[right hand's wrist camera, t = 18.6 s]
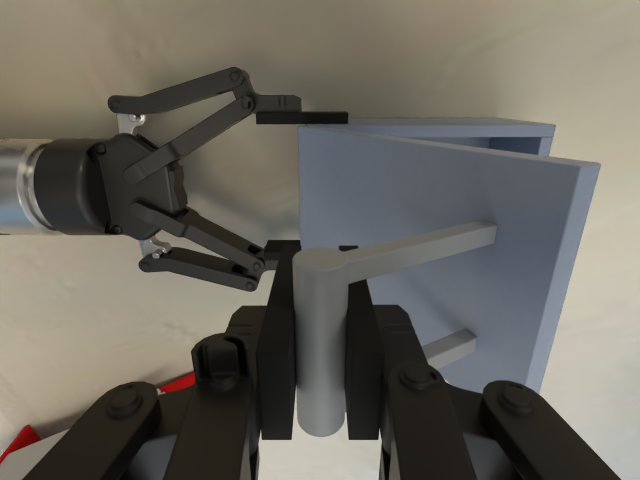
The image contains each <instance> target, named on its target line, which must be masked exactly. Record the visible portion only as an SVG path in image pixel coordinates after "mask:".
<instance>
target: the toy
mask: <svg viewBox="0 0 640 480" xmlns="http://www.w3.org/2000/svg"><path fill="white" fill-rule="evenodd" d="M193 384H195V374H194V372H193V373H191V374H188V375H186V376H184V377H182V378H180V379H178V380H175V381H173V382H171V383H169V384H167V385H164V386H162V387H160V388H157V391H158V395H160V394H164V393H169V392H173V391H177V390H180V389H184V388H187V387H189V386H191V385H193ZM69 429H70V428H69ZM69 429H67V430H65V431H62V432H60V433H57V434H55V435H53V436H50V437H48V438H45V439H43V440H41V439H40V437H39V436H38V435H37V434H36V433H35V432H34V431H33V430H32V428H31V427H30V426H29V425H28V426H26V427H24V428H23V430H22V431H21V432H20V433H19V435H18V436H17V437H16V438H15V440H14V441H13V442H12V443H11V445H10V446H9V447H8V448H7V450H6V451H5V452H4V453H3V454H2V456H1V457H0V480H22V479H23V478H24V477H25V476H26V475H27V473H28V472H29V471H30V470H31V469H32V468H33V467H34V466H35V465H36V464H37V463H38V462H39V461H40V460H41V459H42V458H43V457H44V456H45V455H46V453H47V452H48V451H49V450H50V449H51V448H52V447H53V446H54V445H55V444H56V443H57V442H58V441H59V440H60V439H61V438H62V437H63V436H64V435H65V433H66V432H67V431H68V430H69Z"/></svg>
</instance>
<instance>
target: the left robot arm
mask: <svg viewBox="0 0 640 480" xmlns="http://www.w3.org/2000/svg"><path fill="white" fill-rule="evenodd" d="M232 90H233V93H234V95H235V97H236V100H235V101H233V102H232V103H230V104H229V105H227V106H226V107H224V108H223V109H221V110H219V111H218V112H216V113H215V114H213V115H212V116H210V117H208V118H207V119H205V120H204V121H202V122H201V123H199V124H198V125H196V126H194V127H193V128H191V129H190V130H188V131H187V132H185V133H184V134H182V135H180V136H179V137H177V138H176V139H174V140H173V141H171V142H169V143H167V144H165V145H163V146H162V147H160V148H159V147H158V146H156V145H155V144H153V143H152V142H150V141H149V140H147V139H146V138H144V137H143V136H141V135H140V134H138V129H139V127H140V126H142V125H145V124H148V123H149V122H150V114H155V113H162V112H166V111H169V110H172V109H176V108H179V107H182V106H185V105H188V104H191V103H195V102H198V101H201V100H204V99H207V98H210V97H213V96H217V95H220V94H223V93H226V92H229V91H232ZM108 106H109V108H110V110H111V111H112V112H114V113H117V121H118V130H119V134H117V135H115V136H114V137H112V138H110V139H58V140H51V139H0V235H62V234H67V235H127V236H130V237H132V238H134V239H137V240H139V243H140V247H141V251H142V254H143V259H142V260H141V261H140V262H139V268H140V269H141V270H142V271H144V272H162V271H169V272H173V273H177V274H181V275H185V276H189V277H193V278H197V279H201V280H205V281H209V282H213V283H217V284H221V285H225V286H229V287H233V288H237V289H241V290H245V291H249V292H252V291H255V290H256V289H257V286H258V283H259V281H260V278H261V275H262V273H263V272H265V271H267V270H276V268H277V264H278V260H279V256H280V252H281V248H282V245H300V240H268V242H267V245H266V246H265V248H264V249H263V248H261V247H259V246H257V245H255V244H254V243H252V242H250V241H248V240H246V239H244V238H242V237H240V236H238V235H236V234H234V233H232V232H230V231H228V230H226V229H224V228H222V227H221V226H219V225H217V224H215V223H213V222H211V221H209V220H207V219H205V218H203V217H201V216H200V215H199V214H198V212H196V211H195V210H193V209H191V208H189V207H187V206H185V205H186V204H188V202H187V194H186V192H185V190H184V187H183V180H184V171H183V166H180V165H179V163H178V160H180V159H181V158H183V157H185V156H186V155H188V154H189V153H191V152H192V151H194V150H195V149H197V148H198V147H200V146H201V145H203V144H205V143H206V142H208V141H209V140H211V139H213V138H214V137H216V136H217V135H219V134H221V133H222V132H224V131H225V130H227V129H229V128H230V127H232V126H233V125H235V124H237V123H238V122H240V121H241V120H243V119H245V118H246V117H248V116H249V115H251V114H253V113H256V124H348V113H347V112H302V105H301V98H299V97H297V96H295V95H259V94H258V93H256V92H255V91H254V89H253V87H252V84H251V82H250V78H249V75H248V73H247V72H246V71H245V70H242V69H240V68H236V67H231V68H228V69H225V70H222V71H219V72H216V73H213V74H209V75H206V76H203V77H200V78H197V79H194V80H191V81H188V82H185V83H182V84H179V85H175V86H172V87H169V88H166V89H163V90H160V91H157V92H154V93H151V94H148V95H145V96H128V95H114V96H111V97H110V98H109V99H108ZM161 230H164V231H166V232H168V233H170V234H172V235H174V236H177V237H185V238H187V239H189V240H191V241H193V242H195V243H197V244H199V245H201V246H203V247H205V248H207V249H209V250H211V251H213V252H215V253H217V254H219V255H221V256H223V257H225V258H227V259H229V260H227V259H223V258H220V257H216V256H212V255H208V254H204V253H200V252H196V251H192V250H189V249H185V248H179V247H170V244H169V243H168V242H161V241H159V240H158V239H157V238H156V237H155V234H157V233H158V232H159V231H161Z"/></svg>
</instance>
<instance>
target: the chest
mask: <svg viewBox="0 0 640 480" xmlns="http://www.w3.org/2000/svg"><path fill="white" fill-rule="evenodd" d="M305 126H318V127H326V128H334V129H341V130H349V131H357V132H365V133H372V134H380V135H388V136H395V137H403V138H411V139H418V140H426V141H434V142H441V143H449V144H457V145H464V146H472V147H480V148H487V149H495V150H503V151H510V152H518V153H526V154H533V155H541V156H549V153H550V148H551V144H552V139H553V135H554V131H555V126H556V125H554V124H545V123H537V122H528V121H520V120H512V119H503V118H348V124H306V125H305Z"/></svg>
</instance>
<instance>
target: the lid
mask: <svg viewBox="0 0 640 480" xmlns="http://www.w3.org/2000/svg"><path fill="white" fill-rule="evenodd" d="M298 158H299V202H300V245H301V250H302V251H299V252H298V253H296V254H295V255H294V257H293V259H292V263H293V294H294V326H295V357H296V389H297V419H298V423H299V425H300V427H301V428H302V429H303V430H304V431H305V432H306V433H308V434H310V435H312V436H316V437H326V436H330V435H332V434H334V433H336V432H337V431H338V430H339V429H340V428H341V427H342V425H343V423H344V419H345V412H346V400H345V358H346V324H347V309H348V284H351V283H354V282H358V281H361V280H365V279H367V283H368V287H369V291H370V295H371V299H372V303H373V305H399V306H400V307H401V308H402V309H404V310H405V311H406V312H407V313H408V315H409V317H410V320H411V322H412V326H413V327H414V330H415V333H416V334H417V337H418V339H419V342H420V344H421V347H422V349H423V352H424V354H425V357H426V359H427V362H428V364H429V365H430V366H432V367H434V368H435V369H436V370H437V371H439V372H440V374H441V375H442V377H443V378H444V379H445V380H447V381H448V382H449V383H450V384H452V385H453V386H455V387H458V388H461V389H465V390H470V391H474V392H478V393H483V388H484V387H485V386H486V385H487V384H488V383H490V382H493V381H496V380H509V381H512V382H516V383H520V384H522V385H524V386H526V387H528V388H530V389H532V390H534V391H535V392H536V393H538V394H539V392H540V388H541V384H542V380H543V377H544V373H545V369H546V366H547V362H548V358H549V355H550V351H551V347H552V344H553V340H554V336H555V332H556V329H557V325H558V321H559V318H560V314H561V310H562V307H563V303H564V299H565V295H566V292H567V288H568V284H569V281H570V277H571V273H572V270H573V266H574V262H575V258H576V255H577V251H578V247H579V244H580V240H581V236H582V233H583V229H584V225H585V222H586V218H587V214H588V210H589V207H590V203H591V199H592V196H593V192H594V188H595V185H596V181H597V177H598V173H599V170H600V166H601V164H599V163H595V162H587V161H579V160H572V159H564V158H556V157H549V156H541V155H533V154H526V153H518V152H510V151H503V150H495V149H487V148H480V147H472V146H464V145H457V144H449V143H441V142H434V141H426V140H418V139H411V138H403V137H395V136H388V135H380V134H372V133H365V132H357V131H349V130H341V129H334V128H326V127H318V126H298ZM339 245H358V249H353V250H349V251H345V252H342V251H340V250H339Z"/></svg>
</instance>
